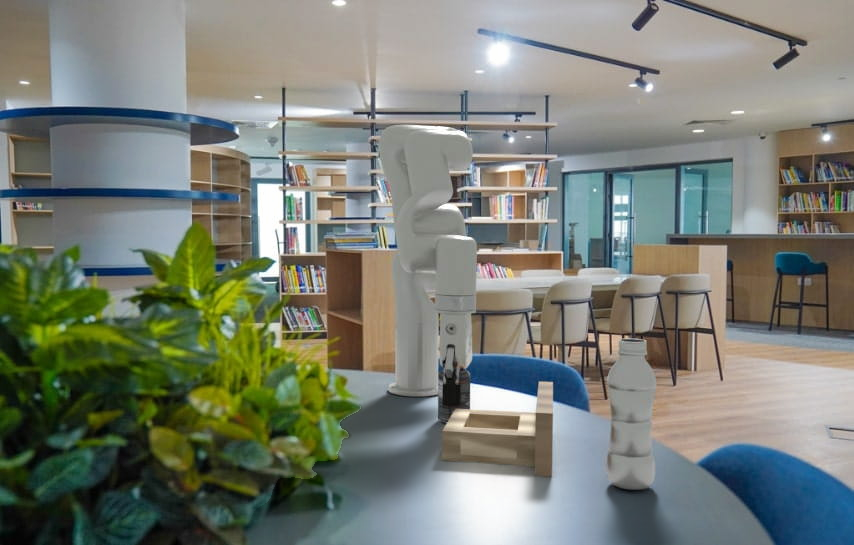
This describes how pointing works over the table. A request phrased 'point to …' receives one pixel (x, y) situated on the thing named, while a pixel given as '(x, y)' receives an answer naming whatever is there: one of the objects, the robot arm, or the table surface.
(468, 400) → the pill bottle
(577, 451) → the table surface
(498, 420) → the socket block
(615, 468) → the plastic bottle
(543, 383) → the backstop wall
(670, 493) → the table surface
